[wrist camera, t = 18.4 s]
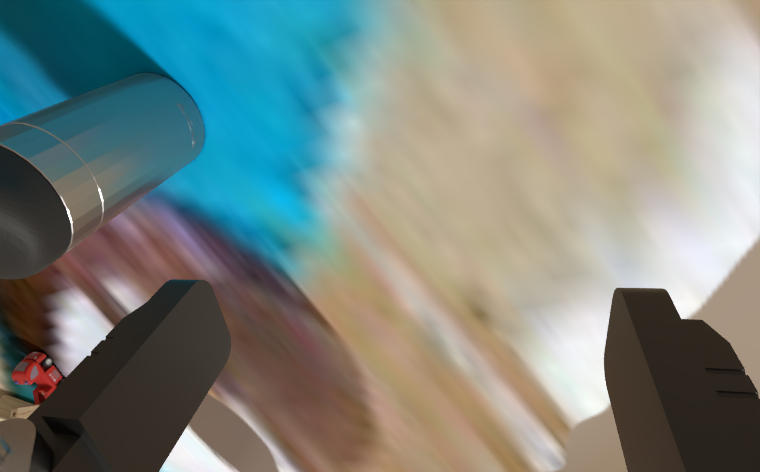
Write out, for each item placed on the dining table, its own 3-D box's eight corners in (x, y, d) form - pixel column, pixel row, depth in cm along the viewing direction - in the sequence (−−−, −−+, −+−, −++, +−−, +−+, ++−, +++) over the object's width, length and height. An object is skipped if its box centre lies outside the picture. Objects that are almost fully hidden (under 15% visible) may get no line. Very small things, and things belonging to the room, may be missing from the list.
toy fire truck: (45, 348, 72) (-12, 400, 64) (92, 411, 78) (45, 465, 70) (29, 349, 73) (-30, 400, 65) (76, 410, 79) (28, 464, 71)
